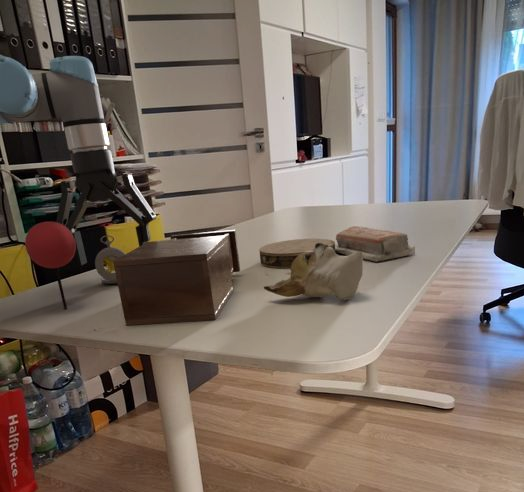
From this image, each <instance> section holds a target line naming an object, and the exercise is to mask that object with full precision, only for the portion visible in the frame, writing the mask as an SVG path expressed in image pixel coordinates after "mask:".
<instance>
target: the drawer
mask: <svg viewBox="0 0 524 492" xmlns="http://www.w3.org/2000/svg"><path fill="white" fill-rule="evenodd" d="M222 235H226V236H227V244H228V252H229V260H230V268H231V276H232V275H233V274H234V273H239V272H240V271H241V265H240V256H239V248H238V247H239V246H238V239H237V229H231V230H230V229H229V230H228V229H227V230H216V231H206V232H205V231H203V232H194V233H183V234H172V235H170V237H169V238H170V240H175V239H187V238H199V237H210V236H222Z"/></svg>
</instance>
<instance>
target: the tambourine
mask: <svg viewBox="0 0 524 492" xmlns="http://www.w3.org/2000/svg"><path fill="white" fill-rule="evenodd" d="M317 243H322V244H325V245H328V246H330V247H331V248H333V250H334V252H335V245H336V242H335V241H334V240H332V239H328V238H298V239H297V238H296V239H289V240H281V241H276V242H272V243H269V244H265V245H263V246H261V247H260V248H259V249H258V251H259V259H260V265H261V266H262V267H265V268H269V269H291V266H292V263H293V261H294V260H295V259H296V257H297V256H298V255H300V254H302V253H304V252H306V251H314V248H315V245H316V244H317ZM335 253H336V252H335Z"/></svg>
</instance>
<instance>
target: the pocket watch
mask: <svg viewBox="0 0 524 492" xmlns="http://www.w3.org/2000/svg"><path fill="white" fill-rule="evenodd" d="M105 237H109V238H111V241H110V239H109V238H107V239H106V241H103V239H104V238H105ZM114 241H115V238H114V237H113V235H109V234H108V235H107V234H106V235H103V236H102V237H100V242H101V243H102V244H104V245H106V247H105V248H103V249H101V250H100V251H98V253H97V255H96V256H95V259H94V267H95V270H96V272H97V273H98V275H99V276H100V277H101V278H100V279H101V280H100V281H101V282H102V284H107V285H111V284H113V285H114V284H118V283H117V279H116V274H115V269H114V264H113V261H114V260H116V259H118V258H120V257H121V256H123V255H125V254H126V252H125V251H123V250H122V249H120V248H117V247H114V246H113V247H112V246H111V244H112V243H113V242H114Z"/></svg>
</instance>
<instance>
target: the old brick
mask: <svg viewBox="0 0 524 492" xmlns="http://www.w3.org/2000/svg"><path fill="white" fill-rule="evenodd" d="M335 240H336V243H335V253H336V254H341V255H344V256H349V255H351V254H355V253H357V252H359V251H361V252H362V254H363V260H366V261H370V262H376V263H377V262H382V261H386V260H391V259H396V258H401V257H402V258H403V257H405V256H412V255H415V254H416V246H411V245H409V241H408V240H409V237H408V234H406V233H404V232H398V231H393V230H386V229H385V230H384V229H379V228H373V227H372V228H371V227H366V226H359V225H352V226H350V227H348V228H346V229H343V230H342V231H340V232H338V233H337V234H336V236H335Z"/></svg>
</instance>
